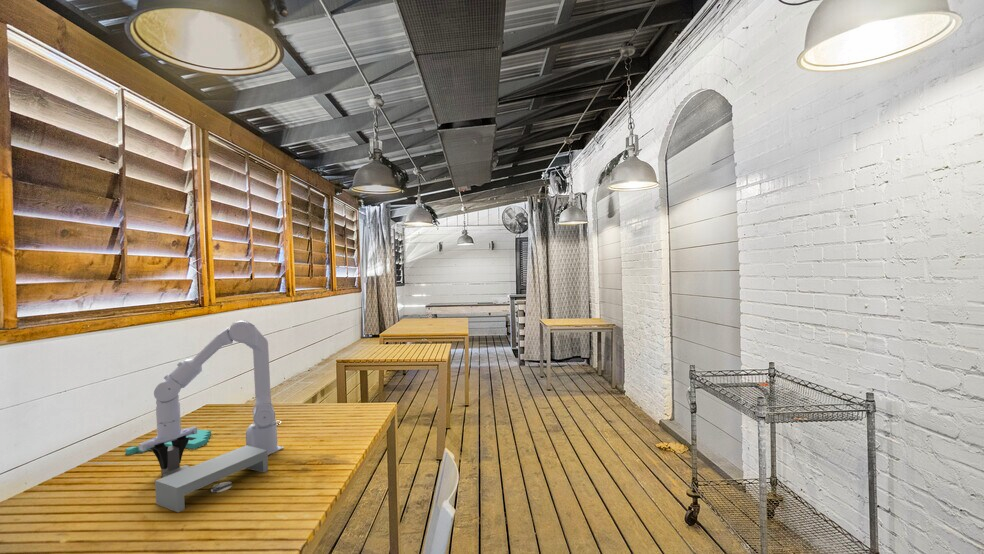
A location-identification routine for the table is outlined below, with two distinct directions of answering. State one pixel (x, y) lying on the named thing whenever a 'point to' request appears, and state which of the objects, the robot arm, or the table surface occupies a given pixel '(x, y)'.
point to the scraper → (173, 462)
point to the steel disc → (221, 487)
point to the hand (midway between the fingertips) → (170, 465)
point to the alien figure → (193, 443)
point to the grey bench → (207, 475)
